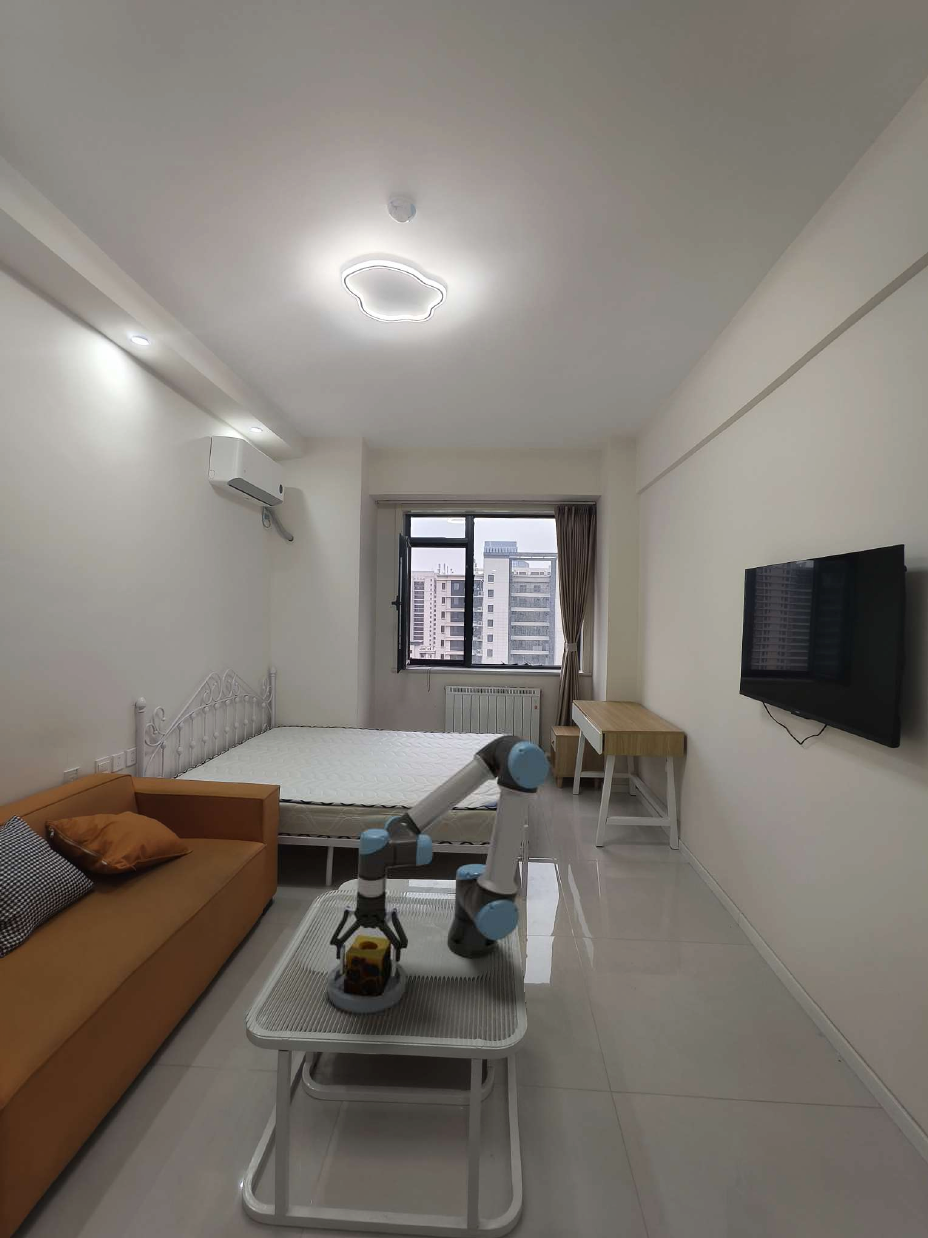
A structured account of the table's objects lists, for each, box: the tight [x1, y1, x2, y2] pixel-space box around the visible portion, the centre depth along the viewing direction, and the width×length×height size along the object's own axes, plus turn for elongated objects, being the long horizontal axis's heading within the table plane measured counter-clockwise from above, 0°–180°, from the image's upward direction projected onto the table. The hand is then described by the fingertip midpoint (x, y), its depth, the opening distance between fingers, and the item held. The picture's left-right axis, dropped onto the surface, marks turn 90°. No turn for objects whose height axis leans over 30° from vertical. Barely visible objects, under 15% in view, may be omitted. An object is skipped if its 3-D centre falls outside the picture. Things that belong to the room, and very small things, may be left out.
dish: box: [326, 958, 407, 1015], centre depth 154 cm, size 20×20×3 cm
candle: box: [343, 934, 392, 997], centre depth 154 cm, size 10×10×10 cm
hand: (367, 972), depth 154 cm, fingers open, 13 cm apart
